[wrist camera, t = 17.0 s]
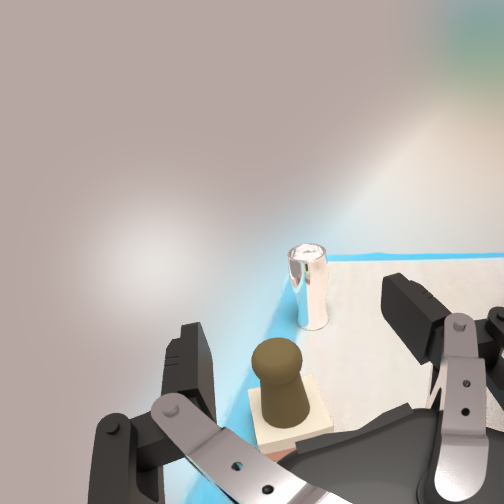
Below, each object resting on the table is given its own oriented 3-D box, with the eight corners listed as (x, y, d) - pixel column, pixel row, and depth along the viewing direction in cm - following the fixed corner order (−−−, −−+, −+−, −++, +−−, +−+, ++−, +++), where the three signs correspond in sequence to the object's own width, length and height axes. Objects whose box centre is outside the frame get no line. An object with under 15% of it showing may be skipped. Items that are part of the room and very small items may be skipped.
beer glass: (322, 335, 52) (318, 263, 46) (289, 327, 56) (279, 259, 50) (335, 312, 57) (332, 244, 51) (304, 307, 61) (296, 241, 55)
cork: (254, 422, 32) (234, 365, 27) (271, 387, 37) (258, 326, 32) (301, 433, 29) (295, 376, 25) (315, 394, 34) (312, 332, 30)
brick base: (314, 398, 40) (312, 373, 37) (332, 446, 32) (333, 425, 29) (255, 412, 40) (247, 389, 37) (265, 463, 31) (257, 444, 29)
